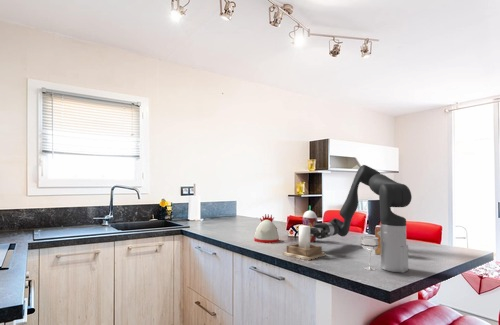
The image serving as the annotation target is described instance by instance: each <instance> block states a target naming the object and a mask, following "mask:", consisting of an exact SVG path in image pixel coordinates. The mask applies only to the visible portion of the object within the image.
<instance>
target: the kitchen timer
mask: <svg viewBox="0 0 500 325" xmlns="http://www.w3.org/2000/svg"><path fill="white" fill-rule="evenodd" d="M259 219H260V223H259V224H258V225H257V227H256V229H255V233H254V236H253V240H254V242H257V243H261V244H275V243H279V241H280V236H279V232H278V228H277V227H276V225H275V223H274V222H273V221H274V220H275V217H273V215H272V214H270V216H269V214H266V213H265V215H262V218H261V217H260V218H259Z"/></svg>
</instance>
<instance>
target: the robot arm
mask: <svg viewBox="0 0 500 325" xmlns="http://www.w3.org/2000/svg"><path fill="white" fill-rule="evenodd" d="M360 183H361V184H364V185H366V186H367V187H369V189H370V191H371V192H373V194H376V195H377V196H378V198H379V218H380V219H379V220H380V221H379V222H380V225H379V226H381V255H380V268H381V269H382V270H384V271H387V272H393V273H403V274H404V273H406V272H407V271H409V245H408V244H407V219H406V218H405V217H404V216H402V215H401V216H400V215H398V214H396V213H394V212H393V211H392V208H406V207H408V206H409V205H410V203H411V202H412V192H411V190H410V188H409V187H408V186H407V184H404V183H400V182H397V181H395V180H394V179H391V178H389V176H386V175H385V174H382V173H380V172H379V171H378V170H377V169H375V168H373V167H371V166H368V165H366V164H362V165H361V166H360V167H359V168H358V169H357V171H356V173H355V175H354V178H353V181H352V183H351V186H350V188H349V192H348V194H347V196H346V199H345V201H344V203H343V204H342V207H341V208H340V210H339V212H338V214H339V215H340V216H341V217H342V218H343V221H342V220H340V219H339V218H332V219H331V220H330V221H328V222H326V221H325V222H317V224H315V225H314V227H311V228H310V235H312V236H313V237H316V239H318V240H322V239H326V238H330V237H333V236H335V235H338V236H340V237H345V236H347V235H348V234H349V231H350V228H351V224H352V220H353V216H354V215H355V213H356V211H357V210H358V206H359V194H358V193H359V192H358V191H359V187H360V186H359V185H360ZM296 233H297V235H298V236H299V229H297V232H296Z"/></svg>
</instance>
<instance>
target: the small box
mask: <svg viewBox="0 0 500 325" xmlns="http://www.w3.org/2000/svg"><path fill="white" fill-rule="evenodd" d="M374 228H375V229H374V237H377V238H378V242H379V245H378V247H377V248H376V249H375V250H374V254H375V255H380V256H381V225H379V224H378V225H376V226H375V227H374Z"/></svg>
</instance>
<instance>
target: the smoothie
mask: <svg viewBox="0 0 500 325" xmlns="http://www.w3.org/2000/svg"><path fill="white" fill-rule="evenodd" d="M308 208H309V209H308V210H306V211H304V213H303V215H302V225H304V226H310V228H311V227H314V225H315V224H317V223H318V216H317V214H316V212H315V211H313V210H311V205H309V206H308ZM316 239H317V238H316V237H313V236H312V235H310V243H314V242H315V241H316Z"/></svg>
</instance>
